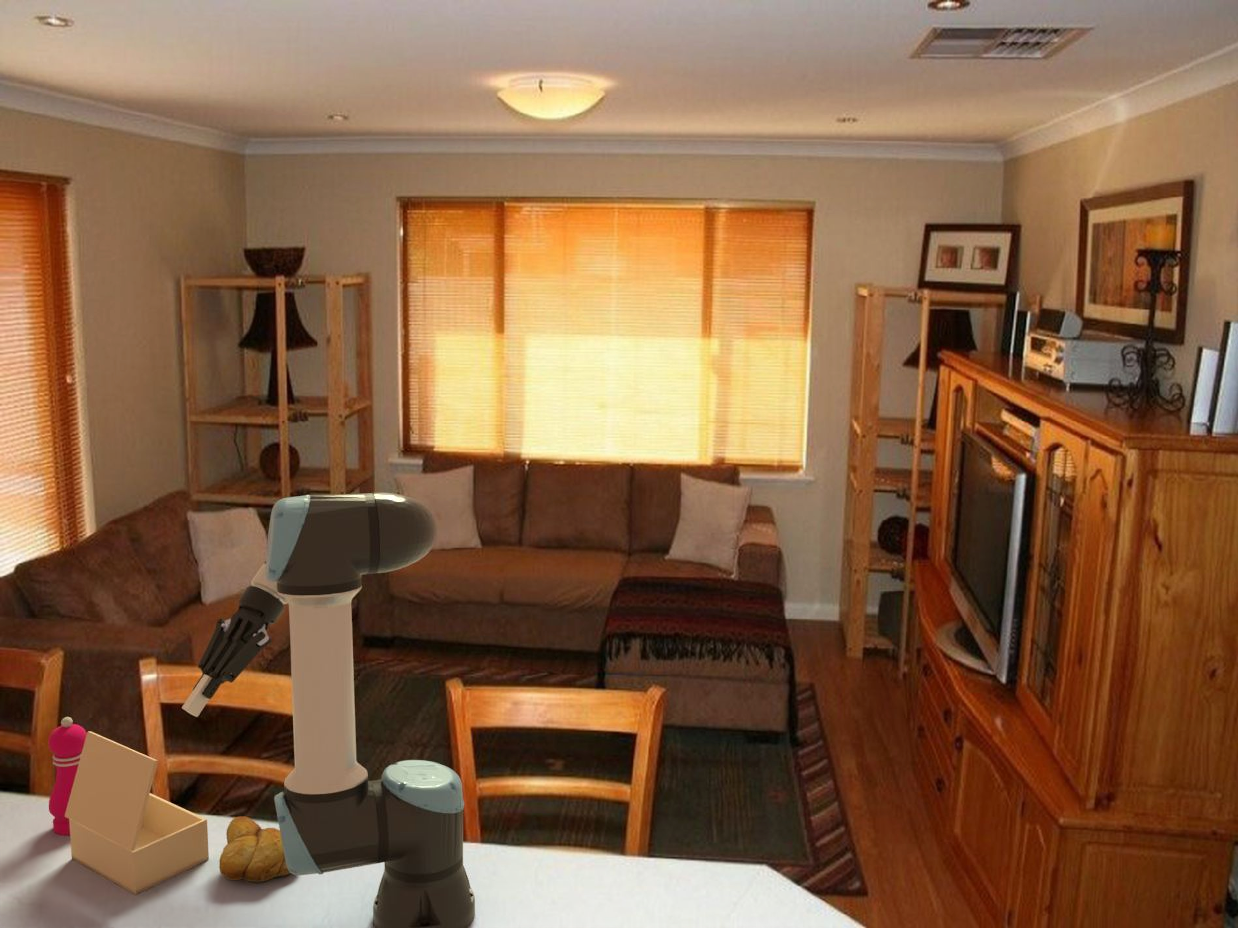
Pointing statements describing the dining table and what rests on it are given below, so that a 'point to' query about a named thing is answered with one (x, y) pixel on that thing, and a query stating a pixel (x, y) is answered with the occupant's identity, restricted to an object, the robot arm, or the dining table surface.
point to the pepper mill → (64, 769)
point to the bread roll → (252, 852)
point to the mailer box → (145, 847)
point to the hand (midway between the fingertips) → (189, 712)
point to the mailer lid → (111, 790)
